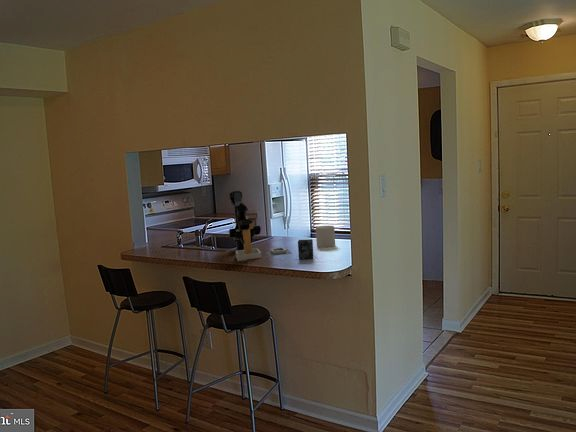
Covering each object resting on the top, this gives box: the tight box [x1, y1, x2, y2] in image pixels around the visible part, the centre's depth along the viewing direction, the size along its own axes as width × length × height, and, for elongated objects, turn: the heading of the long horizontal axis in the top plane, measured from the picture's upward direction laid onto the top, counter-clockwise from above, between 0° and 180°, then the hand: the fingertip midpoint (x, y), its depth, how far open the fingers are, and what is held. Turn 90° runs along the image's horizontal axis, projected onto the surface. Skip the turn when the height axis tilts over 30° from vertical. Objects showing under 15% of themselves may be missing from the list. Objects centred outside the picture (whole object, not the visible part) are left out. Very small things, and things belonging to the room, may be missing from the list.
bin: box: [235, 248, 262, 263], centre depth 301 cm, size 14×14×4 cm
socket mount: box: [265, 247, 293, 257], centre depth 306 cm, size 14×14×3 cm
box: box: [297, 238, 314, 260], centre depth 289 cm, size 8×6×11 cm
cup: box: [315, 225, 336, 248], centre depth 322 cm, size 12×12×12 cm
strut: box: [243, 229, 253, 254], centre depth 300 cm, size 4×4×14 cm
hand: (247, 242), depth 299 cm, fingers closed on strut, 4 cm apart
